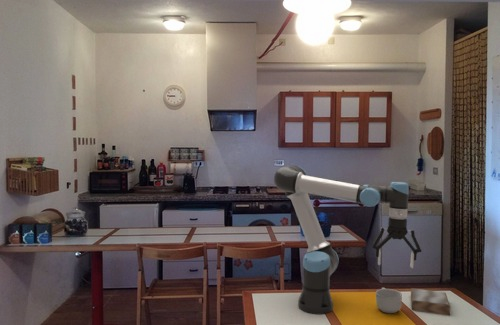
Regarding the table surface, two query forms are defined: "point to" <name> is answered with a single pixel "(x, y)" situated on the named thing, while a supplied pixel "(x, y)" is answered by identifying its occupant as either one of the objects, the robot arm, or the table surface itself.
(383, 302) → the teacup
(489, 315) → the table surface
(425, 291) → the walnut riser
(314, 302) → the robot arm
